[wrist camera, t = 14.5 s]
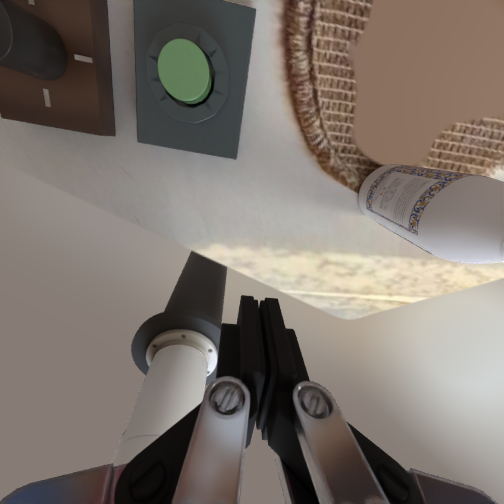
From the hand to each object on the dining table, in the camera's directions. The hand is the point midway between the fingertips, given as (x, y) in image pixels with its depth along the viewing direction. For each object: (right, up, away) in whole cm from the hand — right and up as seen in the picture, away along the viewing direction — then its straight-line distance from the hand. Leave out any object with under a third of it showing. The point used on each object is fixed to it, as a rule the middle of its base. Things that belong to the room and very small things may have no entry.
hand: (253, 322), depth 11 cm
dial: (-18, +21, +9) cm, 29 cm away
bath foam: (+17, +11, +19) cm, 28 cm away
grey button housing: (-6, +20, +14) cm, 25 cm away
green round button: (-6, +18, +9) cm, 21 cm away
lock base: (-19, +22, +12) cm, 31 cm away
